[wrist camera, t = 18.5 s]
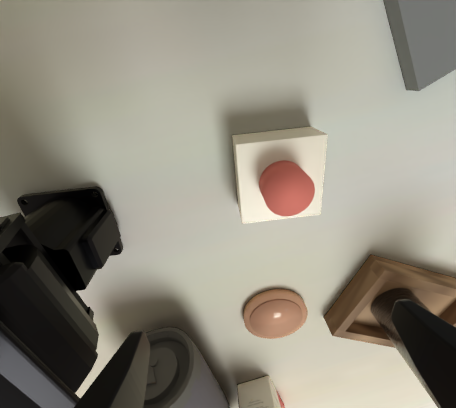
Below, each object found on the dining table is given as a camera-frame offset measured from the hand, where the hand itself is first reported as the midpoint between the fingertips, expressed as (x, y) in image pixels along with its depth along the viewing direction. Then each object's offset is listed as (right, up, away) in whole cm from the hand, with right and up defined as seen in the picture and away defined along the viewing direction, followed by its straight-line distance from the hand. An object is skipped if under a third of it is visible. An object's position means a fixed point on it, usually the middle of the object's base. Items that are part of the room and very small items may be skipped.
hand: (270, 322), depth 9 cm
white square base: (+2, +7, +11) cm, 13 cm away
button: (+2, +6, +9) cm, 10 cm away
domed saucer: (+4, -8, +19) cm, 21 cm away
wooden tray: (+18, -7, +19) cm, 27 cm away
